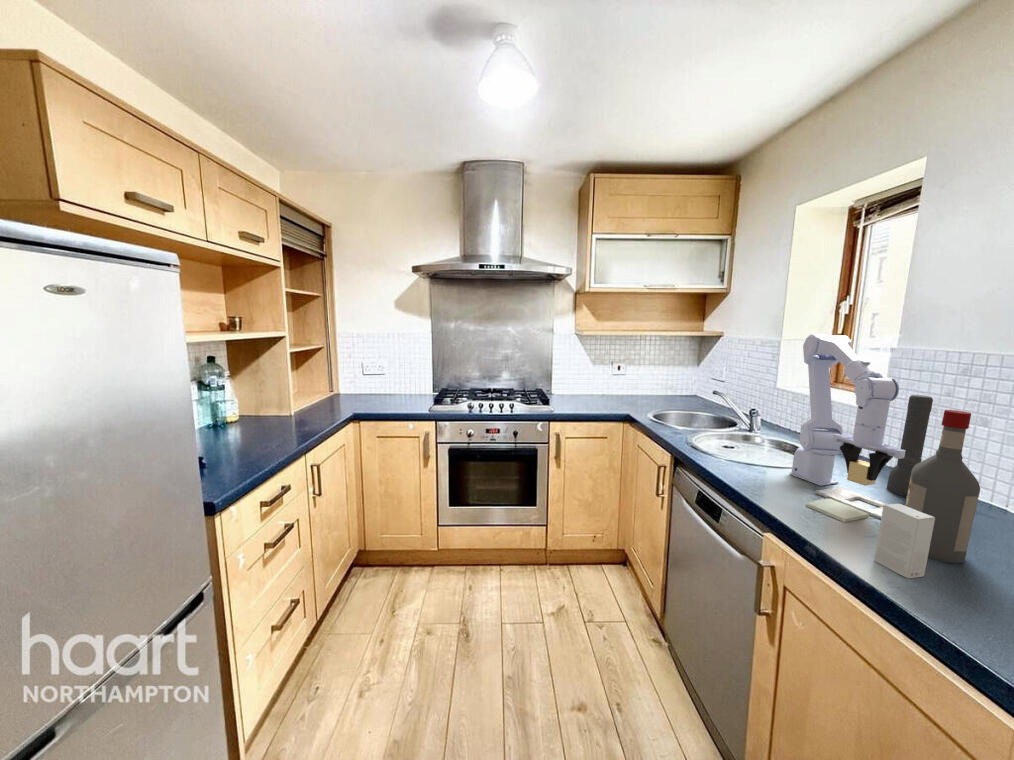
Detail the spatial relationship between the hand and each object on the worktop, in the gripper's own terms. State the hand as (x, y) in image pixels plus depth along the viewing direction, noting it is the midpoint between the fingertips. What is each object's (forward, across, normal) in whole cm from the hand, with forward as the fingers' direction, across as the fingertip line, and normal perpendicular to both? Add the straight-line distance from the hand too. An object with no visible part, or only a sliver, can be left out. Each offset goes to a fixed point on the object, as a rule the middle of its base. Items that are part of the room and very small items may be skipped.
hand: (861, 476), depth 103 cm
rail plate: (+8, 0, +3) cm, 9 cm away
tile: (+8, 0, -8) cm, 11 cm away
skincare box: (+9, +20, -23) cm, 31 cm away
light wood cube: (+2, 0, 0) cm, 2 cm away
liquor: (+9, +18, -8) cm, 21 cm away
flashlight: (+9, -2, +25) cm, 27 cm away
